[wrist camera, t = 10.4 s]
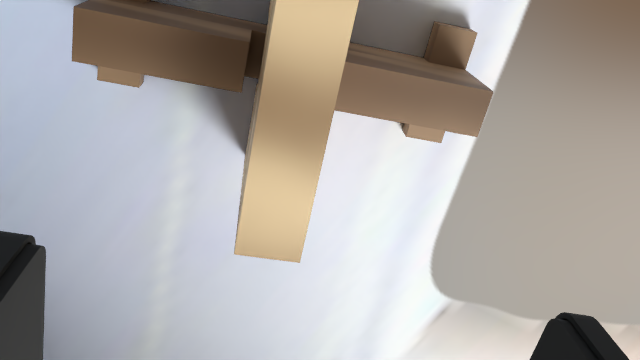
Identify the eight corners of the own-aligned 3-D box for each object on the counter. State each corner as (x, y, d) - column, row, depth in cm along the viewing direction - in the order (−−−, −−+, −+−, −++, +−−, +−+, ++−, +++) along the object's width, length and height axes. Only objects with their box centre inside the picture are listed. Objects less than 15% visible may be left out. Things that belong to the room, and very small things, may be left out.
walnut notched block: (436, 136, 31) (464, 173, 26) (102, 74, 28) (70, 104, 23) (470, 29, 28) (508, 50, 24) (109, -51, 26) (75, -44, 21)
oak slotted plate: (291, 162, 31) (299, 262, 22) (245, 155, 30) (234, 254, 21) (337, -68, 26) (372, -61, 17) (283, -81, 26) (289, -80, 17)
